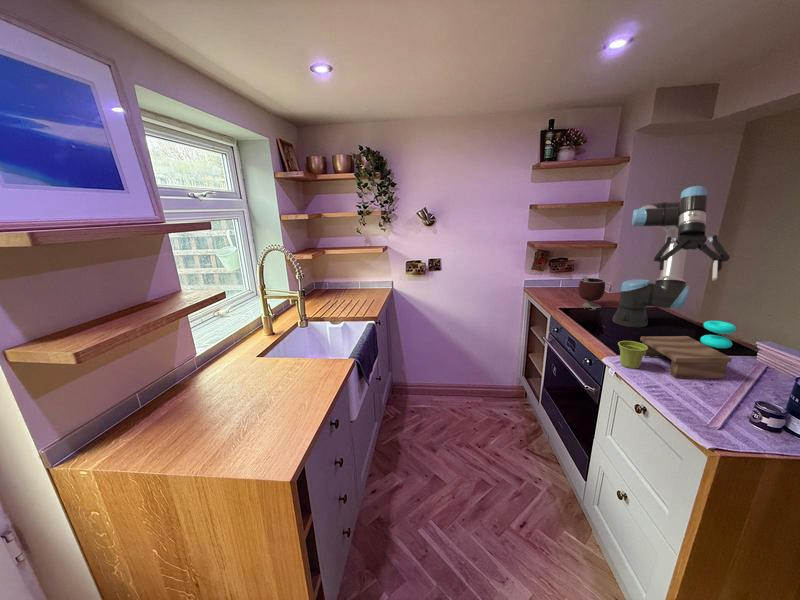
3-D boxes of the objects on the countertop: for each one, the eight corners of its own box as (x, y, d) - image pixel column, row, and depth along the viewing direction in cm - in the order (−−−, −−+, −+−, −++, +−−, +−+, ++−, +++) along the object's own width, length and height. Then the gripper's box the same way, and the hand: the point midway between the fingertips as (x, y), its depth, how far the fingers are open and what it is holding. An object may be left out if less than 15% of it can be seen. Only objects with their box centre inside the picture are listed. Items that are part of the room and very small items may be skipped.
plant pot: (610, 360, 129) (612, 340, 127) (633, 359, 129) (636, 340, 127) (625, 371, 120) (628, 350, 118) (650, 370, 120) (654, 349, 118)
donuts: (698, 319, 141) (725, 319, 138) (694, 339, 144) (720, 340, 141) (714, 327, 132) (743, 328, 129) (709, 348, 134) (737, 350, 132)
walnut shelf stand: (637, 353, 133) (640, 336, 131) (683, 353, 131) (687, 336, 129) (672, 378, 114) (676, 358, 112) (726, 378, 112) (731, 358, 110)
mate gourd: (607, 307, 194) (611, 275, 188) (591, 311, 189) (595, 278, 183) (584, 301, 207) (588, 272, 202) (569, 304, 202) (572, 274, 197)
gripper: (650, 223, 122) (645, 273, 118) (742, 218, 107) (741, 275, 103) (649, 232, 128) (644, 280, 124) (736, 228, 113) (735, 283, 108)
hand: (688, 278), depth 113 cm, fingers open, 13 cm apart
